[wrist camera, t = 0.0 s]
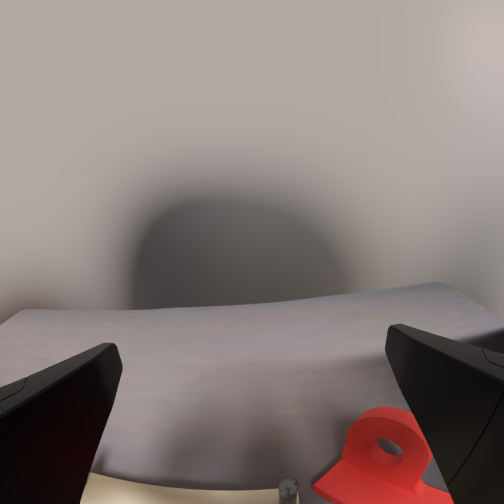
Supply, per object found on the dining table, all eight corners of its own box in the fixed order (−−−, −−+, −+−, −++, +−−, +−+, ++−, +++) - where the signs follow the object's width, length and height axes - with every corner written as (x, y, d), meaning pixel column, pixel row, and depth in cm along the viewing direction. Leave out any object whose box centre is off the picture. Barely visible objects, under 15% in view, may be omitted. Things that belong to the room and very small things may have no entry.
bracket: (312, 491, 16) (321, 431, 15) (347, 458, 19) (362, 393, 17) (438, 550, 7) (496, 502, 6) (464, 506, 10) (514, 444, 8)
